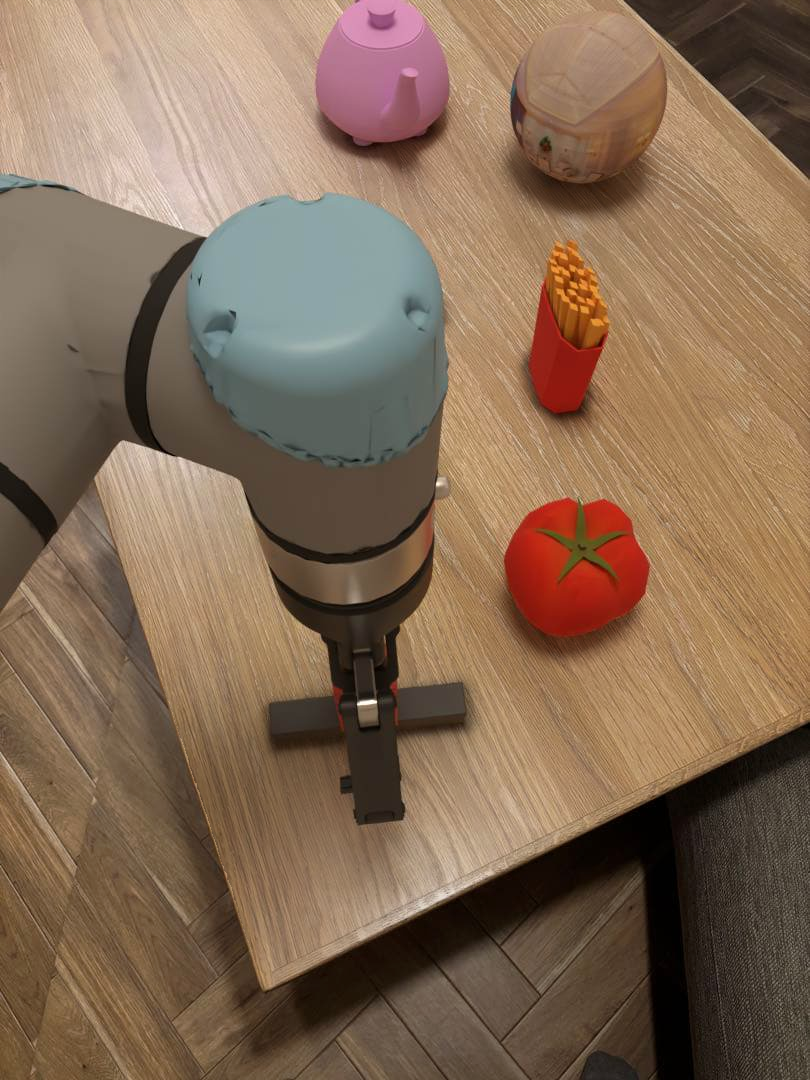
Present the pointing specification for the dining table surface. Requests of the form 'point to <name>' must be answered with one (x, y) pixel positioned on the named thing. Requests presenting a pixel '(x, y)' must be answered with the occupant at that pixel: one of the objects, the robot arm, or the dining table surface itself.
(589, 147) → the ornament
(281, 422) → the robot arm
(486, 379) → the dining table surface
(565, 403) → the french fries
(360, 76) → the teapot
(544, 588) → the tomato
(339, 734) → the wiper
